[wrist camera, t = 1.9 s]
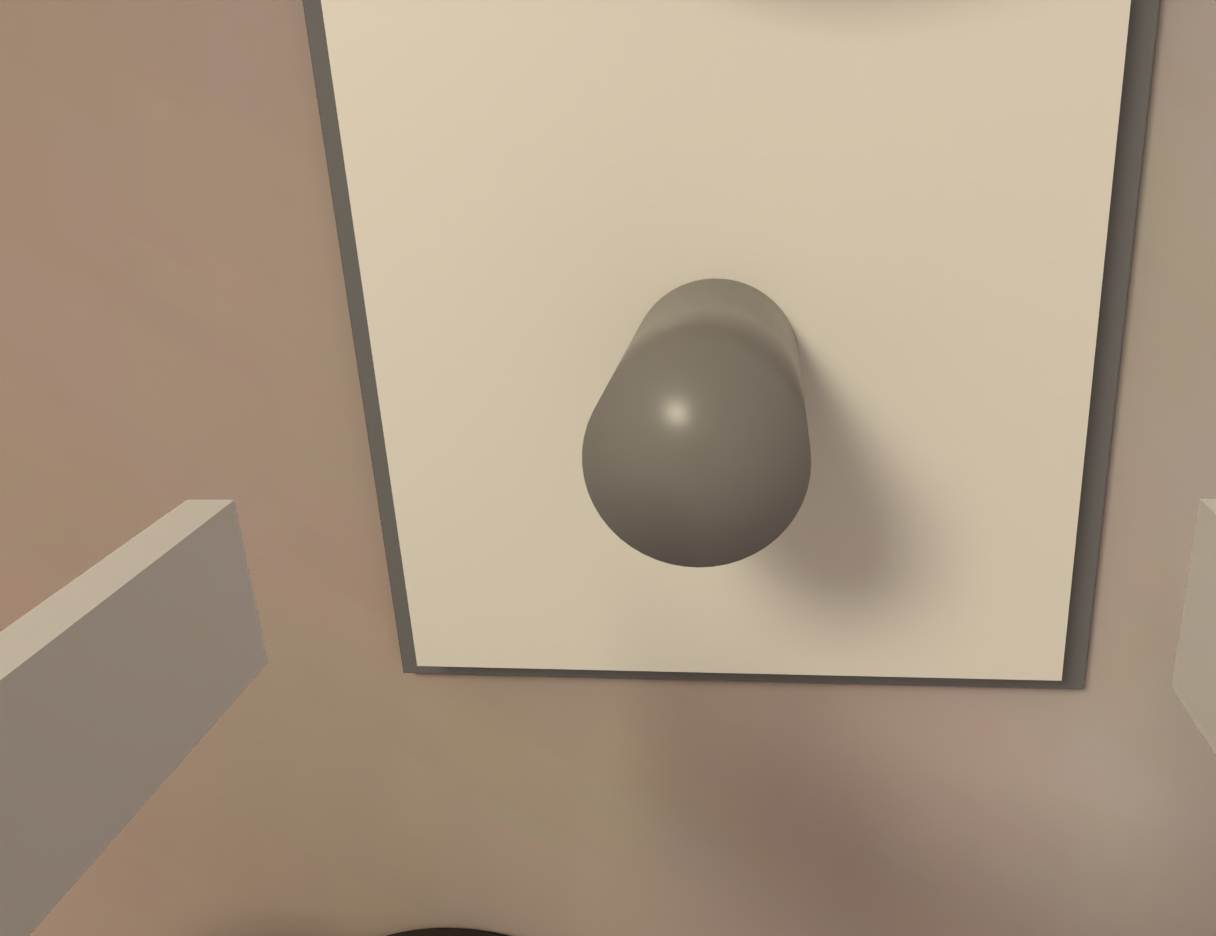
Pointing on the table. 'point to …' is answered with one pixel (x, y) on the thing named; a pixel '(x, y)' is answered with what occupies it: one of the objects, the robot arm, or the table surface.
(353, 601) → the table surface
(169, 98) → the table surface
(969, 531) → the lid
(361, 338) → the mat
